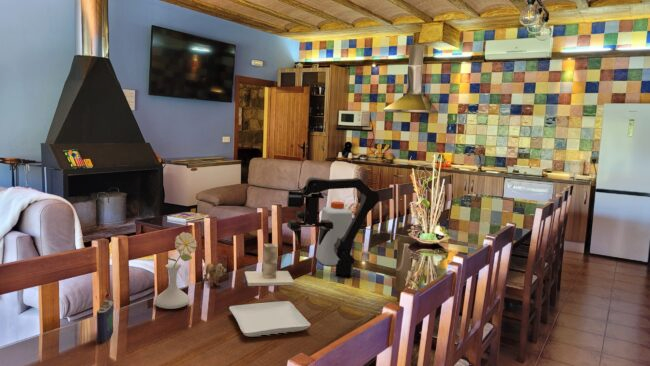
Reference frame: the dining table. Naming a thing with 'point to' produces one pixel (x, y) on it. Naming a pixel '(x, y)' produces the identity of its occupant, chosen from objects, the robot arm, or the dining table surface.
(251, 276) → the platter
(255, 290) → the dining table surface
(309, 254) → the dining table surface
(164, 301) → the flower in vase
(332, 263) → the plastic bottle
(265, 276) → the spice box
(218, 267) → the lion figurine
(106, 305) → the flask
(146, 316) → the dining table surface
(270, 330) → the salad plate
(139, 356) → the dining table surface
